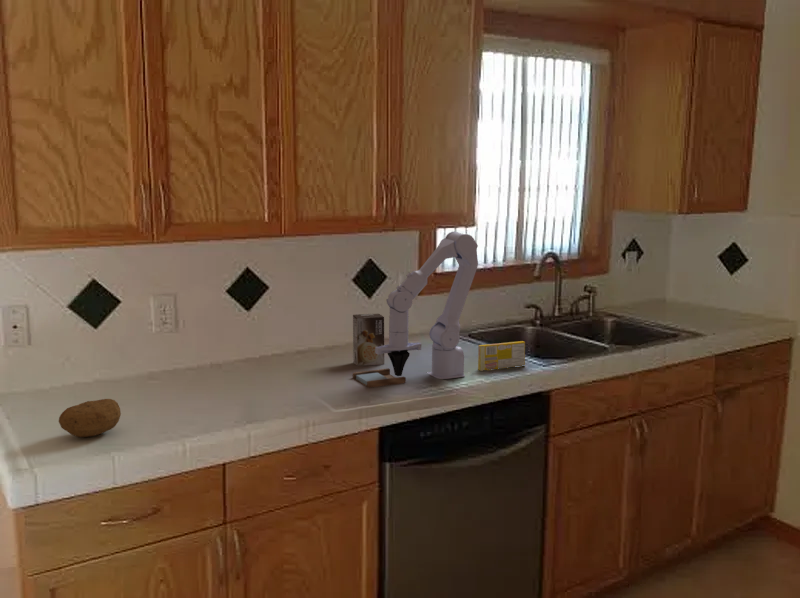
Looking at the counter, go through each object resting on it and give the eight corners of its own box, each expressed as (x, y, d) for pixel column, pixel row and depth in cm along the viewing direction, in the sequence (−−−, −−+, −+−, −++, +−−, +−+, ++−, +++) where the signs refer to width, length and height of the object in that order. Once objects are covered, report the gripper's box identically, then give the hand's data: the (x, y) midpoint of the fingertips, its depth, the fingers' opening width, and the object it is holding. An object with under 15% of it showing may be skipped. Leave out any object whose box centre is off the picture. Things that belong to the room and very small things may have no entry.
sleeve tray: (388, 375, 238) (388, 368, 238) (405, 384, 229) (405, 377, 228) (352, 379, 233) (352, 372, 232) (368, 389, 223) (368, 382, 223)
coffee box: (379, 361, 255) (380, 313, 252) (384, 366, 249) (385, 316, 246) (352, 362, 253) (352, 314, 250) (356, 367, 247) (356, 318, 244)
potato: (53, 436, 182) (51, 403, 181) (112, 423, 192) (110, 392, 190) (68, 448, 175) (66, 414, 174) (129, 434, 185) (127, 401, 183)
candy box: (521, 365, 253) (522, 340, 251) (525, 367, 251) (526, 342, 249) (477, 369, 247) (478, 344, 245) (480, 371, 245) (481, 345, 243)
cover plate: (377, 376, 235) (377, 372, 235) (389, 383, 228) (389, 379, 228) (356, 379, 232) (356, 375, 231) (367, 385, 225) (367, 381, 224)
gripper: (413, 326, 238) (413, 369, 240) (370, 330, 231) (370, 374, 234) (425, 330, 232) (424, 374, 234) (381, 335, 225) (380, 380, 227)
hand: (398, 375), depth 233 cm, fingers closed
